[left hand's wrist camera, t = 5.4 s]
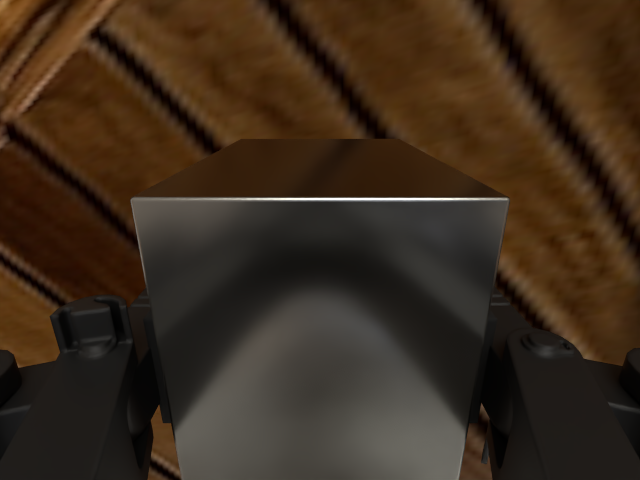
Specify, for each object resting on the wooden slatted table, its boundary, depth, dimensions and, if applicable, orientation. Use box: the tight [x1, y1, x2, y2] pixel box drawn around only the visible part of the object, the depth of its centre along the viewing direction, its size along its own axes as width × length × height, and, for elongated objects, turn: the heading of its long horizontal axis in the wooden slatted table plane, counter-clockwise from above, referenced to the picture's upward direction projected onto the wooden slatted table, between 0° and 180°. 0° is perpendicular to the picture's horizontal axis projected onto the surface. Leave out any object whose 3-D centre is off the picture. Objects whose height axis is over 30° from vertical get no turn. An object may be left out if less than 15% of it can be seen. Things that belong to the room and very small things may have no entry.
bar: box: [131, 139, 510, 480], centre depth 13 cm, size 22×6×8 cm, turn 0°
